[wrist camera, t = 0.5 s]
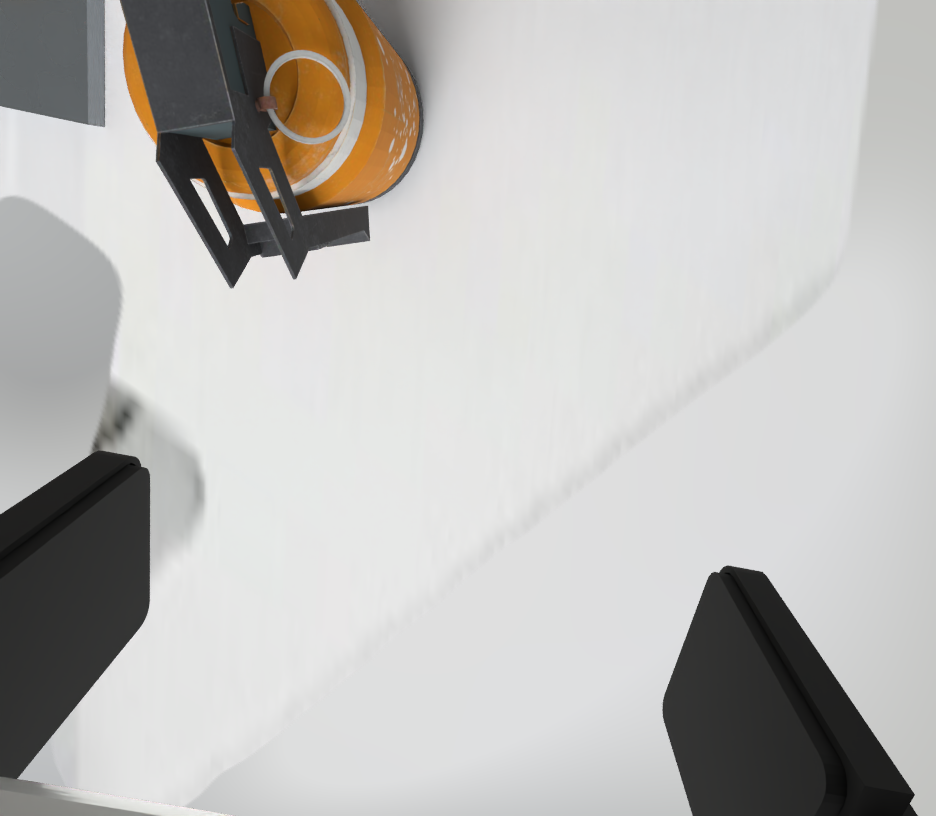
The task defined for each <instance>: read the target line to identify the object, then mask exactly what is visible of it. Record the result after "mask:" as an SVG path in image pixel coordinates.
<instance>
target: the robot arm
mask: <svg viewBox="0 0 936 816" xmlns="http://www.w3.org/2000/svg"><path fill="white" fill-rule="evenodd" d="M149 602H150V474H149V471H148V469H147V468H144V467H141V464H140V461H139V459H138V458H136V457H133V456H128V455H122V454H117V453H112V452H106V451H97V452H94V453H93V454H91V455H90V456H88V457H87V458H85V459H84V460H82V461H81V462H79V463H78V464H76V465H75V466H73V467H72V468H70V469H69V470H67V471H66V472H64V473H63V474H61V475H59V476H58V477H56V478H55V479H53V480H52V481H51V482H49V483H47V484H46V485H44V486H43V487H41V488H40V489H38V490H37V491H35V492H34V493H32V494H31V495H29V496H28V497H26V498H25V499H23V500H22V501H20V502H19V503H17V504H16V505H14V506H13V507H11V508H10V509H8V510H6V511H5V512H4V513H2V514H0V816H233V815H228V814H222V813H216V812H209V811H204V810H198V809H192V808H186V807H180V806H174V805H168V804H163V803H157V802H151V801H145V800H139V799H133V798H127V797H121V796H115V795H109V794H103V793H98V792H92V791H86V790H80V789H74V788H68V787H62V786H56V785H49V784H44V783H38V782H32V781H26V780H19V779H17V778H18V777H19V776H20V774H21V773H22V772H23V771H24V769H25V768H26V767H27V766H28V764H29V763H30V762H31V761H32V760H33V759H34V757H35V756H36V755H37V753H38V752H39V751H40V750H41V749H42V747H43V746H44V745H45V744H46V742H47V741H48V740H49V739H50V738H51V736H52V735H53V734H54V733H55V731H56V730H57V729H58V728H59V727H60V725H61V724H62V723H63V722H64V720H65V719H66V718H67V717H68V715H69V714H70V713H71V712H72V711H73V709H74V708H75V707H76V706H77V704H78V703H79V702H80V701H81V699H82V698H83V697H84V696H85V695H86V693H87V692H88V691H89V690H90V688H91V687H92V686H93V685H94V683H95V682H96V681H97V680H98V679H99V677H100V676H101V675H102V674H103V672H104V671H105V670H106V669H107V667H108V666H109V665H110V664H111V663H112V661H113V660H114V659H115V658H116V656H117V655H118V654H119V653H120V651H121V650H122V649H123V648H124V647H125V645H126V644H127V643H128V642H129V640H130V639H131V638H132V637H133V636H134V634H135V633H136V632H137V631H138V629H139V628H140V627H141V625H142V624H143V622H144V620H145V618H146V616H147V613H148V609H149ZM663 718H664V723H665V726H666V729H667V732H668V736H669V739H670V742H671V746H672V749H673V752H674V755H675V758H676V762H677V765H678V768H679V772H680V775H681V778H682V781H683V785H684V788H685V792H686V795H687V798H688V801H689V805H690V808H691V811H692V814H693V816H918V815H917V814H916V813H915V811H914V810H913V808H912V806H911V805H910V802H911V800H912V799H913V797H914V795H915V794H914V793H913V791H912V790H911V788H910V787H909V785H908V784H907V782H906V781H905V780H904V778H903V777H902V775H901V774H900V772H899V771H898V769H897V768H896V766H895V765H894V764H893V762H892V760H891V759H890V757H889V756H888V755H887V753H886V751H885V750H884V749H883V747H882V746H881V744H880V743H879V741H878V740H877V738H876V737H875V735H874V734H873V732H872V731H871V729H870V728H869V727H868V725H867V724H866V722H865V721H864V719H863V718H862V716H861V715H860V713H859V712H858V710H857V709H856V707H855V706H854V704H853V703H852V701H851V700H850V698H849V697H848V695H847V694H846V693H845V691H844V690H843V688H842V687H841V685H840V684H839V682H838V681H837V679H836V678H835V677H834V675H833V674H832V672H831V671H830V669H829V667H828V666H827V665H826V663H825V662H824V660H823V659H822V657H821V656H820V654H819V653H818V651H817V650H816V648H815V647H814V645H813V644H812V642H811V641H810V639H809V638H808V637H807V635H806V634H805V632H804V631H803V629H802V628H801V626H800V625H799V623H798V622H797V620H796V619H795V618H794V616H793V614H792V613H791V611H790V610H789V609H788V607H787V606H786V604H785V603H784V601H783V600H782V598H781V597H780V595H779V594H778V592H777V591H776V589H775V588H774V586H773V585H772V583H771V582H770V581H769V579H768V578H767V576H766V575H765V574H764V573H763V572H760V571H755V570H749V569H744V568H738V567H732V566H725V567H723V568H722V570H721V571H720V572H719V573H717V572H714V573H711V575H710V576H709V578H708V580H707V582H706V585H705V587H704V590H703V593H702V596H701V598H700V601H699V604H698V606H697V609H696V612H695V614H694V617H693V620H692V622H691V625H690V628H689V631H688V633H687V636H686V639H685V641H684V644H683V647H682V649H681V652H680V655H679V657H678V660H677V663H676V666H675V668H674V671H673V674H672V676H671V679H670V682H669V684H668V687H667V690H666V692H665V696H664V700H663Z"/></svg>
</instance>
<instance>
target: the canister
mask: <svg viewBox="0 0 936 816" xmlns="http://www.w3.org/2000/svg"><path fill="white" fill-rule="evenodd" d="M120 3H121V6H122V10H123V13H124V17H125V20H126V27H125V32H124V44H123V60H124V71H125V77H126V81H127V86H128V90H129V94H130V97H131V99H132V102H133V105H134V108H135V110H136V112H137V115H138V117H139V119H140V121H141V123H142V125H143V127H144V129H145V131H146V132H147V134H148V136H149V137H150V138H151V140H152V141H153V143H154V144H155V146H156V147H157V149H156V162H157V164H158V166H159V167H160V169H161V171H162V172H163V174H164V176H165V177H166V179H167V181H168V182H169V184H170V186H171V187H172V189H173V191H174V193H175V194H176V196H177V198H178V199H179V201H180V203H181V205H182V206H183V208H184V210H185V211H186V213H187V215H188V217H189V218H190V220H191V222H192V223H193V225H194V227H195V229H196V230H197V232H198V234H199V235H200V237H201V239H202V241H203V242H204V244H205V246H206V247H207V249H208V251H209V252H210V254H211V256H212V258H213V259H214V261H215V263H216V264H217V266H218V268H219V270H220V271H221V273H222V275H223V276H224V278H225V280H226V282H227V283H228V285H229V287H230V288H234V286H235V284H236V282H237V281H238V279H239V277H240V276H241V274H242V272H243V270H244V269H245V267H246V265H247V263H248V262H249V260H250V258H251V257H253V256H256V255H261V257H270V256H277V255H282V257H283V259H284V261H285V263H286V265H287V267H288V269H289V271H290V274H291V276H292V278H293V279H296V278H297V276H298V274H299V271H300V269H301V267H302V264H303V262H304V260H305V257H306V255H307V253H308V251H311V250H318V249H321V248H323V247H326V246H327V247H330V246H337V245H344V244H351V243H358V242H365V241H370V233H369V217H368V206H363V207H356V208H350V209H343V210H336V211H330V212H323V213H317V214H310V215H304V216H302V214H301V212H302V211H309V210H317V209H324V208H332V207H339V206H347V205H355V204H360V203H365V202H369V201H372V200H374V199H376V198H379V197H381V196H383V195H384V194H386V193H387V192H389V191H390V190H392V189H393V188H394V187H395V186H396V185H397V184H398V183H399V182H401V180H402V179H403V178H404V177H405V175H406V174H407V173H408V171H409V170H410V168H411V166H412V164H413V162H414V161H415V158H416V156H417V153H418V150H419V148H420V143H421V138H422V131H423V112H422V104H421V99H420V95H419V91H418V88H417V86H416V83H415V81H414V78H413V76H412V75H411V73H410V71H409V69H408V67H407V66H406V64H405V63H404V62H403V60H402V59H401V58H400V57H399V55H398V54H397V53H396V51H395V50H394V49H393V48H392V46H391V45H390V44H389V42H388V41H387V40H386V39H385V37H384V36H383V35H382V33H381V32H380V31H379V30H378V28H377V27H376V26H375V25H374V23H373V22H372V21H371V19H370V18H369V17H368V16H367V14H366V13H365V12H364V10H363V9H362V8H361V7H360V5H359V4H358V3H357V1H356V0H120ZM190 179H191V180H192V181H194V182H196V183H197V184H199V185H200V186H202V187H204V188H207V190H208V192H209V194H210V196H211V199H212V201H213V203H214V205H215V207H216V209H217V211H218V213H219V215H220V217H221V220H222V222H223V224H224V226H225V228H226V230H227V232H228V234H229V237H230V240H229V244H228V246H227V244H226V243H225V241H224V239H223V237H222V236H221V234H220V232H219V230H218V229H217V227H216V225H215V223H214V221H213V220H212V218H211V216H210V214H209V213H208V211H207V209H206V207H205V206H204V204H203V202H202V200H201V199H200V197H199V195H198V193H197V192H196V190H195V188H194V186H193V185H192V183H191V181H190ZM234 204H235V205H238V206H240V207H243V208H246V209H250V210H254V211H257V212H262V214H263V217H264V219H265V222H258V223H252V224H245V225H243V223H242V221H241V219H240V217H239V215H238V213H237V211H236V209H235V207H234ZM280 213H286V215H287V218H284V219H282V217H281V215H280Z"/></svg>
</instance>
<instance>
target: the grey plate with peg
mask: <svg viewBox="0 0 936 816" xmlns="http://www.w3.org/2000/svg"><path fill="white" fill-rule="evenodd" d="M0 106H2V107H7V108H12V109H17V110H21V111H26V112H31V113H36V114H40V115H45V116H50V117H55V118H59V119H64V120H69V121H74V122H78V123H83V124H88V125H95V126H101V127H105V126H104V0H0Z"/></svg>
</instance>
